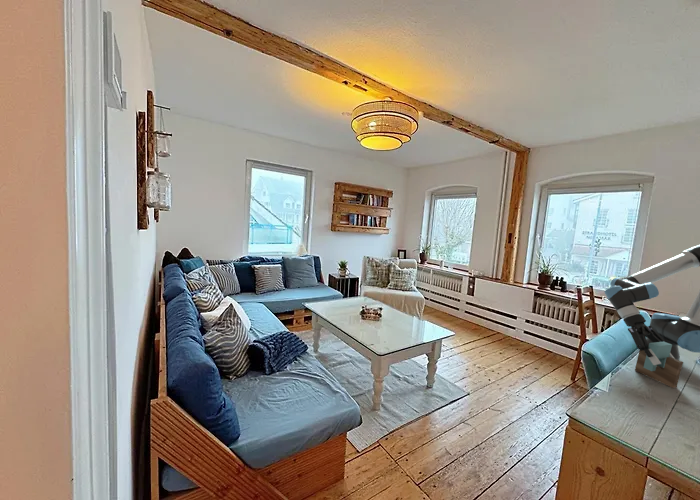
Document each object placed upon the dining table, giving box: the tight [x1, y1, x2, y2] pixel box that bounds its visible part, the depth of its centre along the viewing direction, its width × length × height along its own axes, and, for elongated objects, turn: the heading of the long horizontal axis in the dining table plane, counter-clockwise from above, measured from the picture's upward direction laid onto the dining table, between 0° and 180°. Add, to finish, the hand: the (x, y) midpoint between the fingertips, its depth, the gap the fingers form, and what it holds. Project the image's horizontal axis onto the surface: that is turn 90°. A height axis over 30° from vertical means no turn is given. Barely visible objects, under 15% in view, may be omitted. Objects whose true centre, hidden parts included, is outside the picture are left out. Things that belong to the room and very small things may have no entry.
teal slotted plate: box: [643, 342, 672, 371], centre depth 135 cm, size 10×3×12 cm, turn 107°
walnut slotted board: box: [634, 349, 684, 389], centre depth 136 cm, size 2×14×12 cm, turn 17°
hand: (665, 363), depth 133 cm, fingers closed on teal slotted plate, 10 cm apart
